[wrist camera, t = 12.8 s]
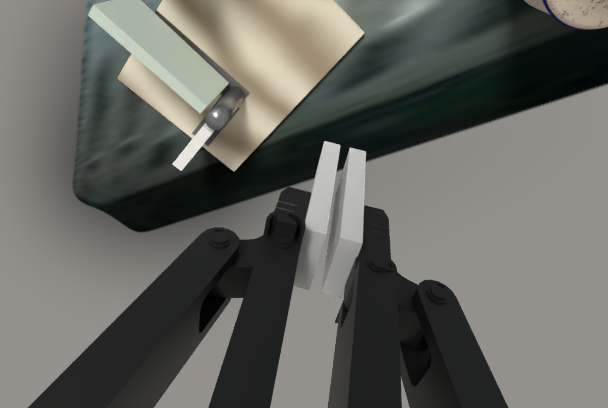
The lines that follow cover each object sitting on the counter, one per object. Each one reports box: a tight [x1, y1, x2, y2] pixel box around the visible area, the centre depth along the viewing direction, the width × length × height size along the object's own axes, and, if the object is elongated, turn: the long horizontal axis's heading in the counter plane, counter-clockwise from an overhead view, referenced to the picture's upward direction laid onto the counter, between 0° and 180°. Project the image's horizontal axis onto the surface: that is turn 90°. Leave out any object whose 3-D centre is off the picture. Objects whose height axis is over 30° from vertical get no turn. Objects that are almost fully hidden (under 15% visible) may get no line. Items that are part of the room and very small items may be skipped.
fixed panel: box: [173, 123, 215, 171], centre depth 46 cm, size 6×1×8 cm, turn 138°
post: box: [205, 87, 245, 130], centre depth 43 cm, size 2×2×8 cm
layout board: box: [117, 0, 365, 171], centre depth 44 cm, size 24×18×1 cm
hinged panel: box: [88, 0, 229, 114], centre depth 41 cm, size 13×1×8 cm, turn 46°
